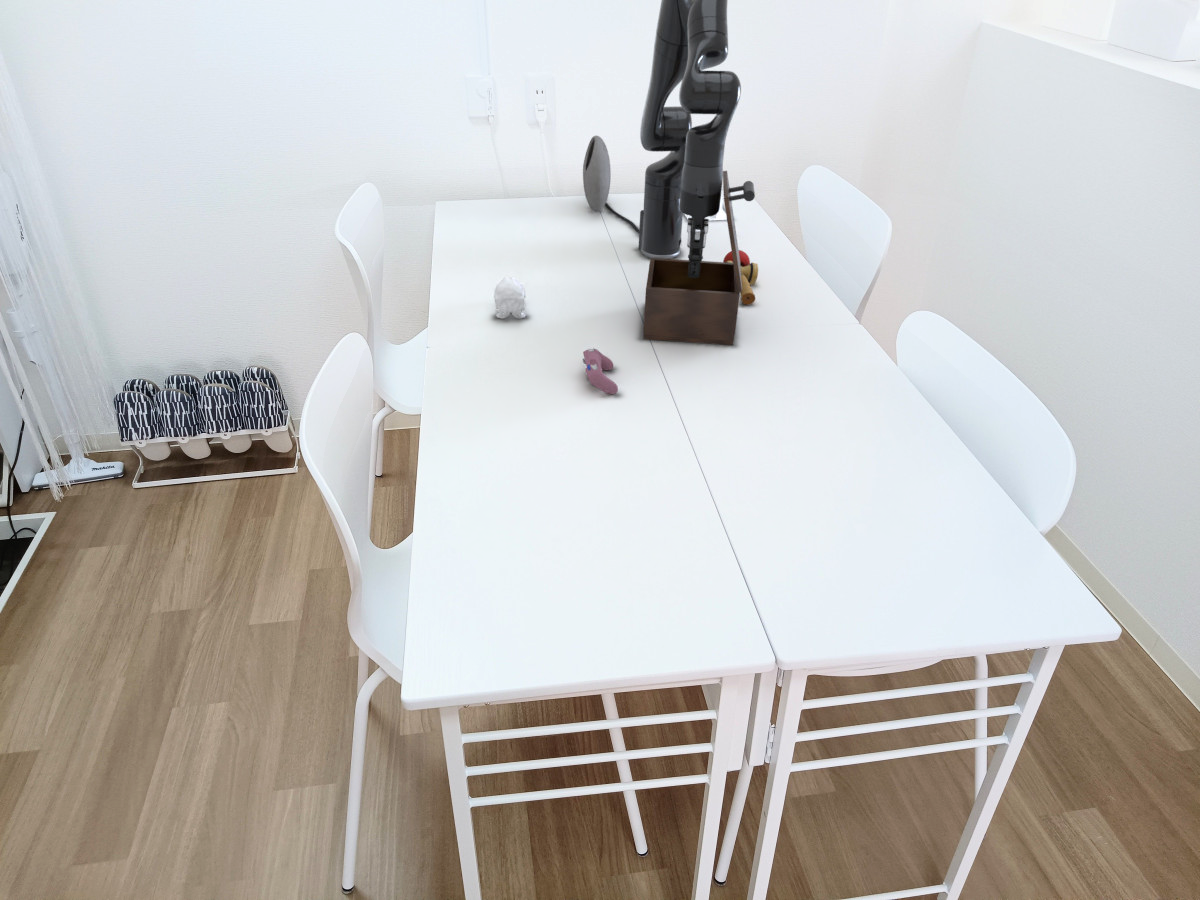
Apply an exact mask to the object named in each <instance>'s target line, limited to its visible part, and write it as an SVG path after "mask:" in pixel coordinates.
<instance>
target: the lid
mask: <svg viewBox="0 0 1200 900" xmlns="http://www.w3.org/2000/svg"><path fill="white" fill-rule="evenodd" d="M722 188H723V189H722V190H723V191H722V192H723V196H724V197H723V204H724V208H725V210H724V211H725V213H726V216H727V220H726V222H727V228H728V229H727V230H728V237H729V242H730V249H731V250H730V251H732V256H733V263H734V270H735V276H736V283H737V290H738V292H742V282H741V266H740V256H739V250H740V248H739V244H738V235H737V230H736V222H735V216H734V209H733V203H732V202H733V201H738V200H743V199H744V201H746V202H752V201H753V200H755V197H756V194H755V185H754V182H752V181H751V180H747V181H746V180H745V182H743V184H742V185H739V186H734V187H733V186H732V187H730V182H729V175H728V170H723V180H722ZM741 191H742V192H743V193H741V194H740V193H739V194H735V195H731V194H732V193H735V192H741Z"/></svg>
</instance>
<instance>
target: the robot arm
mask: <svg viewBox="0 0 1200 900" xmlns="http://www.w3.org/2000/svg"><path fill="white" fill-rule="evenodd" d="M728 28H729V27H728V0H661V2H660V7H659V11H658V19H657V24H656V30H655V35H654V36H655V38H654V42H653V43H654V45H653V54H652V63H651V70H650V77H649V84H648V87H647V93H646V98H645V101H644V106H643V111H642V114H641V115H642V116H641V121H640V131H639V137H640V143H641V146H642V148H643V150H645V151H647V152H651V153H652V152H654V153H655V152H656V153H657V152H658V153H660V152H668V154H667V155H666V156H664V157H663V158H661V159H660V160H657V161H655V162H653V163H650V164H649V165H648V166H647V167H646V169H645V172H644V190H643V191H644V193H643V209H641V210H640V213H639V227H637V225H636V224H635V223H634V222H633V221H632V220H630V219H629V218H627V217H625V216H623V215H622V214H620V213H619V212H617V211H616V210H614V209H613V208H612V207H611V206H610V205H609V204H608V202H606V204H605V206H604V207H606V209H607V210H608V211H609V212H611V213H612V214H613V215H614V216H616V217H617V218H619V219H621V220H622V221H624V222H626V223H628V224H629V225H630V226H631V227H632V228H633V229H634V231H635V232H636V233H637V234H638V247H637V249H638V250H639V251H640V253H641V254H642V255H643V257H646V258H649V259H650V258H663V259H676V258H678V257H679V256H680V255H681V245H682V242H683V241H682V231H683V220H684V219H683V218H684V214H686V215H690V216H692V218H688V219H687V224H686V225H687V227H686V233H687V244H686V246H687V248H688V250H689V252H688V254H687V258H688V260H689V267H688V277H689V278H698V277H699V275H700V264H701V261H703V259H704V255H703V253H704V252H703V251H704V249H705V248H706V242H707V235H708V233H709V221H710V220H709V219H705V218H706V217H708V216H714V215H716V214H717V213H718V212H719V208H720V199H721V195H722V190H723V189H722V188H723V171H724V170H723V169H724V168H723V167H724V155H725V144H726V140H727V137H728V136H727V135H728V133H729V129H730V125H731V123H732V121H733V117H734V115H735V112H736V110H737V107H738V105H739V102H740V99H741V94H742V84H741V80H740V77H739V76H738V75H737V74H736V73H735V72H734V71H731V70H707V69H712V68H714V67H717V66H720V65H722V64H723V63H724V62H725V61H726V60H727V58H728V55H729V29H728ZM678 85H680V86H679V87H680V88H679V93H678V101H679V105H680V106H665V105H666V103H667V101H668V99H669V97H670V95H671V94H672V92H674V90H675V89H676V87H677V86H678ZM692 115H714V117H713V118H712V120H711V121H709V122H707V123H704V124H700V125H696V126H693V117H692Z"/></svg>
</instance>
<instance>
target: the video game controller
mask: <svg viewBox="0 0 1200 900" xmlns="http://www.w3.org/2000/svg"><path fill="white" fill-rule="evenodd" d="M582 354H583V358H582V363H583V364H584V365H585V369H584V371H585V374H586V377H587V379H588V381H589V383H590V385H592V386H595V388H597V389H598V390H600V391H601V392H603V393H605V394H609V395H615V394H617V393H618V391H619V388H618V385H617V384H616V383H615V382H614V381H613V380H612V379H610V378H609V377H607V376H606V375H605V374H604V373H603V370H604V371H611V370H613V368H614V362H613V361H612V360H611V358H609V357H608V356H606V355H605V354H603V353H602V352H601V351H600V350H599V349H597V348H595V347H593V348H588V349H586V350H584V351H582Z"/></svg>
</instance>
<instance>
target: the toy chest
mask: <svg viewBox="0 0 1200 900" xmlns="http://www.w3.org/2000/svg"><path fill="white" fill-rule="evenodd" d="M688 267H689V259H676V258H672V259H663V258H649V265H648V270H647V279H646V285H645V298H644V313H643V314H644V315H643V316H644V317H643V334H642V339H643V340H649V341H663V342H664V341H665V342H666V341H667V342H681V343H682V342H683V343H694V344H708V345H709V344H710V345H724V346H734V343H735V335H736V327H737V320H738V311H739V305H740V304H739V303H740V298H741V294H740V292H738V290H737V283H736V276H735V270H734V263H727V262H723V261H711V260H702V261H701V264H700V275H699V277H698V278H689V277H688Z"/></svg>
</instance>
